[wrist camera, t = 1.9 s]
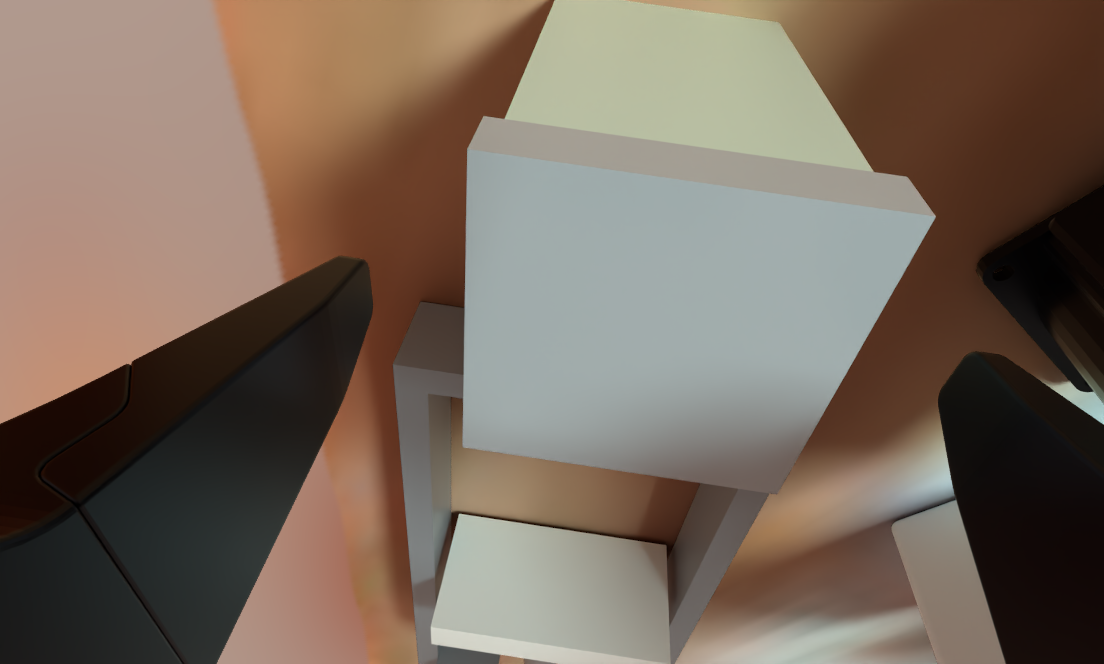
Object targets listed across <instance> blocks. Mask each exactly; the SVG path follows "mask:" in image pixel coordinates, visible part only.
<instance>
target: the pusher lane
mask: <svg viewBox="0 0 1104 664" xmlns="http://www.w3.org/2000/svg"><path fill="white" fill-rule="evenodd" d="M464 323H465V308H461V307H454V306H447V305H441V304H434V303H427V302H420V303H419V306H418V308H417V310H416V312H415V315H414V317H413V319H412V322H411V324H410V326H409V328H408V331H407V333H406V335H405V338H404V340H403V342H402V344H401V347H400V349H399V351H398V354H397V356H396V358H395V360H394V363H393V373H394V385H395V396H396V408H397V419H398V431H399V443H400V454H401V466H402V477H403V489H404V501H405V512H406V524H407V535H408V547H409V559H410V570H411V582H412V593H413V605H414V617H415V628H416V640H417V651H418V663H419V664H499V659H500V655H499V654H493V653H486V652H480V651H474V650H467V649H461V648H454V647H448V646H441V645H435V644H431V623H432V619H433V615H434V611H435V608H436V604H437V600H438V596H439V592H440V588H441V584H442V580H443V576H444V572H445V568H446V564H447V560H448V556H449V552H450V548H451V397H455V398H461V399H463V386H464ZM768 495H769V493H764V492H757V491H750V490H744V489H737V488H730V487H724V486H717V485H710V484H704V483H700V486H699V488H698V490H697V493H696V495H695V497H694V500H693V502H692V504H691V507H690V509H689V511H688V514H687V516H686V518H685V521H684V523H683V525H682V528H681V530H680V532H679V535H678V537H677V539H676V542H675V544H674V546H673V549H672V551H671V553H670V556H669V558H668V560H667V579H668V606H669V634H670V661H671V664H675V662H676V660H677V658H678V656H679V655H680V653H681V651H682V649H683V647H684V646H685V644H686V642H687V640H688V639H689V637H690V635H691V633H692V631H693V630H694V628H695V626H696V624H697V622H698V621H699V619H700V617H701V615H702V613H703V612H704V610H705V608H706V606H707V604H708V603H709V601H710V599H711V597H712V596H713V594H714V592H715V590H716V588H717V587H718V585H719V583H720V581H721V579H722V578H723V576H724V574H725V572H726V570H727V569H728V567H729V565H730V563H731V561H732V560H733V558H734V556H735V554H736V553H737V551H738V549H739V547H740V545H741V544H742V542H743V540H744V538H745V536H746V535H747V533H748V531H749V529H750V527H751V526H752V524H753V522H754V520H755V518H756V517H757V515H758V513H759V511H760V510H761V508H762V506H763V504H764V502H765V501H766V499H767V497H768Z"/></svg>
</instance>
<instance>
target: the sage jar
mask: <svg viewBox="0 0 1104 664" xmlns="http://www.w3.org/2000/svg"><path fill="white" fill-rule="evenodd" d="M935 217H936V216H935V215H934V213H933V212H932V210H931V209H930V208H929V206H928V205H927V203H926V202H925V201H924V199H923V198H922V196H921V195H920V194H919V192H918V191H917V190H916V188H915V187H914V185H913V184H912V183H911V181H910V180H909V178H908V177H905V176H898V175H891V174H884V173H878V172H873V170H872V168H871V167H870V165H869V164H868V162H867V161H866V159H865V157H864V156H863V154H862V153H861V151H860V149H859V148H858V146H857V145H856V143H855V142H854V140H853V138H852V137H851V135H850V134H849V132H848V131H847V129H846V127H845V126H844V124H843V123H842V121H841V120H840V118H839V116H838V115H837V113H836V112H835V110H834V109H833V107H832V105H831V104H830V102H829V101H828V99H827V97H826V96H825V94H824V93H823V91H822V90H821V88H820V86H819V85H818V83H817V82H816V80H815V79H814V77H813V75H812V74H811V72H810V71H809V69H808V68H807V66H806V64H805V63H804V61H803V60H802V58H801V57H800V55H799V53H798V52H797V50H796V49H795V47H794V45H793V44H792V42H791V41H790V39H789V38H788V36H787V34H786V33H785V31H784V30H783V28H782V27H781V25H780V23H779V22H774V21H766V20H759V19H752V18H745V17H738V16H731V15H724V14H717V13H709V12H702V11H695V10H688V9H681V8H674V7H667V6H660V5H653V4H645V3H638V2H631V1H624V0H555V1H554V3H553V6H552V8H551V10H550V13H549V15H548V17H547V20H546V22H545V25H544V27H543V29H542V32H541V34H540V36H539V39H538V41H537V43H536V46H535V48H534V51H533V53H532V55H531V58H530V60H529V62H528V65H527V67H526V69H525V72H524V74H523V77H522V79H521V81H520V84H519V86H518V88H517V91H516V93H515V95H514V98H513V100H512V102H511V105H510V107H509V110H508V112H507V114H506V117H505V119H501V118H494V117H487V116H483V118H482V120H481V122H480V124H479V126H478V128H477V130H476V132H475V134H474V136H473V139H472V141H471V143H470V145H469V147H468V149H467V198H466V260H465V323H464V386H463V447H465V448H471V449H478V450H485V451H491V452H498V453H504V454H511V455H518V456H524V457H531V458H538V459H544V460H551V461H558V462H564V463H571V464H578V465H584V466H591V467H597V468H604V469H611V470H617V471H624V472H631V473H637V474H644V475H651V476H657V477H664V478H671V479H677V480H684V481H690V482H697V483H704V484H710V485H717V486H724V487H730V488H737V489H744V490H750V491H757V492H764V493H770V494H778V492H779V490H780V488H781V487H782V485H783V483H784V481H785V480H786V478H787V476H788V474H789V473H790V471H791V469H792V467H793V466H794V464H795V462H796V460H797V459H798V457H799V455H800V453H801V452H802V450H803V448H804V446H805V445H806V443H807V441H808V439H809V438H810V436H811V434H812V432H813V431H814V429H815V427H816V425H817V424H818V422H819V420H820V418H821V417H822V415H823V413H824V411H825V410H826V408H827V406H828V404H829V403H830V401H831V399H832V397H833V396H834V394H835V392H836V390H837V389H838V387H839V385H840V383H841V382H842V380H843V378H844V376H845V375H846V373H847V371H848V369H849V368H850V366H851V364H852V362H853V361H854V359H855V357H856V355H857V354H858V352H859V350H860V348H861V347H862V345H863V343H864V341H865V340H866V338H867V336H868V334H869V333H870V331H871V329H872V327H873V326H874V324H875V322H876V320H877V319H878V317H879V315H880V314H881V312H882V310H883V308H884V307H885V305H886V303H887V301H888V300H889V298H890V296H891V294H892V293H893V291H894V289H895V287H896V286H897V284H898V282H899V280H900V279H901V277H902V275H903V273H904V272H905V270H906V268H907V266H908V265H909V263H910V261H911V259H912V258H913V256H914V254H915V252H916V251H917V249H918V247H919V245H920V244H921V242H922V240H923V238H924V237H925V235H926V233H927V231H928V230H929V228H930V226H931V224H932V223H933V221H934V219H935Z"/></svg>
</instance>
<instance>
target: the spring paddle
mask: <svg viewBox="0 0 1104 664" xmlns="http://www.w3.org/2000/svg"><path fill="white" fill-rule="evenodd" d="M431 644H435V645H441V646H448V647H454V648H461V649H467V650H474V651H480V652H486V653H493V654H499V655H506V656H512V657H519V658H524V664H556V663H557V664H671V661H670V634H669V606H668V579H667V551H666V545H661V544H655V543H648V542H642V541H635V540H628V539H622V538H615V537H609V536H602V535H596V534H589V533H582V532H576V531H569V530H563V529H556V528H550V527H543V526H537V525H530V524H523V523H517V522H510V521H504V520H497V519H491V518H484V517H478V516H471V515H464V514H459V517H458V521H457V524H456V528H455V532H454V536H453V540H452V544H451V548H450V552H449V556H448V560H447V564H446V568H445V572H444V576H443V580H442V584H441V588H440V592H439V596H438V600H437V604H436V608H435V611H434V615H433V619H432V623H431Z"/></svg>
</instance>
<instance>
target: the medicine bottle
mask: <svg viewBox="0 0 1104 664" xmlns="http://www.w3.org/2000/svg"><path fill="white" fill-rule="evenodd" d="M892 533H893V536H894V539H895V542H896V545H897V548H898V551H899V554H900V556H901V559H902V562H903V565H904V568H905V571H906V574H907V577H908V580H909V582H910V585H911V588H912V591H913V594H914V597H915V600H916V603H917V606H918V608H919V611H920V614H921V617H922V620H923V623H924V626H925V629H926V632H927V634H928V637H929V640H930V643H931V646H932V649H933V652H934V655H935V658H936V660H937V663H938V664H1005V661H1004V657H1003V654H1002V651H1001V648H1000V644H999V641H998V638H997V634H996V631H995V628H994V624H993V621H992V618H991V615H990V611H989V608H988V605H987V601H986V598H985V595H984V591H983V588H982V585H981V582H980V578H979V575H978V572H977V568H976V565H975V562H974V558H973V555H972V552H971V549H970V545H969V542H968V539H967V535H966V532H965V529H964V525H963V522H962V519H961V515H960V512H959V509H958V505H957V501H956V500H954V501H951V502H948V503H945V504H943V505H940V506H937V507H934V508H932V509H929V510H926V511H923V512H920V513H918V514H915V515H912V516H909V517H906V518H904V519H901V520H898V521H896V522H895V523H894V524H893V525H892Z"/></svg>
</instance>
